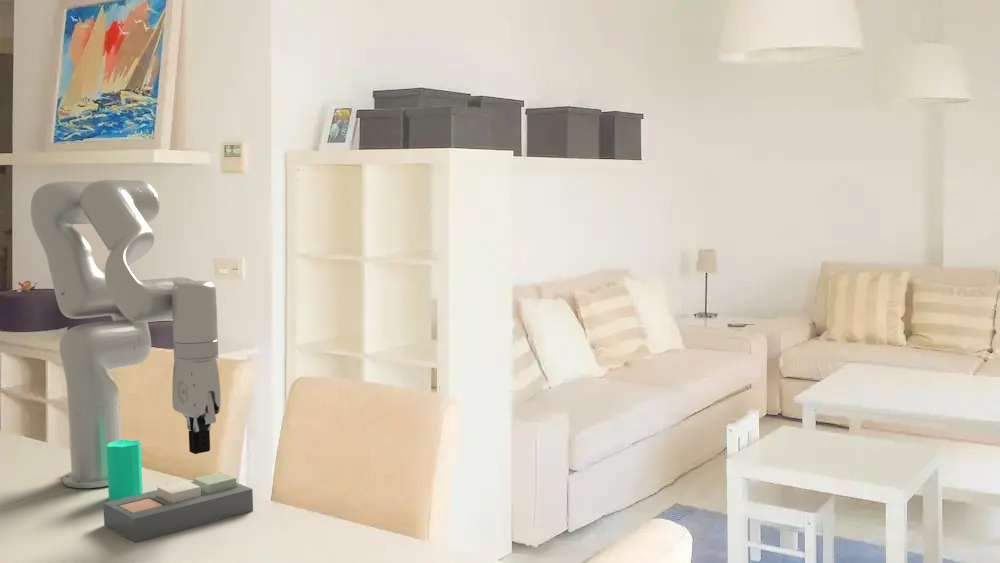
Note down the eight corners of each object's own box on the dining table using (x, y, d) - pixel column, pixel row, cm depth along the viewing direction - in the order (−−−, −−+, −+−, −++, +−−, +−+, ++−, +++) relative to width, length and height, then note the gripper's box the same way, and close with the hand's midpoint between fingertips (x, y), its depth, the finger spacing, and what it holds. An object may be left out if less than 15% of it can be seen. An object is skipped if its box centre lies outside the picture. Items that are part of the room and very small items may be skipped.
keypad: (104, 525, 167) (103, 502, 167) (219, 496, 183) (218, 475, 182) (135, 542, 159) (134, 518, 158) (253, 510, 174) (252, 488, 174)
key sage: (194, 495, 175) (194, 478, 175) (221, 489, 179) (220, 472, 179) (209, 502, 172) (209, 484, 171) (236, 495, 175) (236, 478, 175)
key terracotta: (119, 523, 165) (118, 505, 165) (149, 516, 169) (149, 498, 169) (133, 531, 162) (133, 512, 161) (164, 523, 166) (163, 505, 165)
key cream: (158, 504, 170) (157, 487, 170) (186, 497, 174) (185, 480, 174) (172, 511, 167) (171, 493, 166) (201, 504, 170) (200, 486, 170)
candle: (131, 503, 179) (128, 439, 178) (102, 501, 180) (99, 438, 179) (148, 493, 185) (146, 431, 184) (120, 491, 186) (118, 430, 185)
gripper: (157, 348, 174) (161, 448, 175) (195, 358, 163) (199, 464, 164) (196, 343, 179) (200, 440, 180) (236, 352, 168) (239, 455, 170)
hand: (199, 451), depth 172 cm, fingers closed
